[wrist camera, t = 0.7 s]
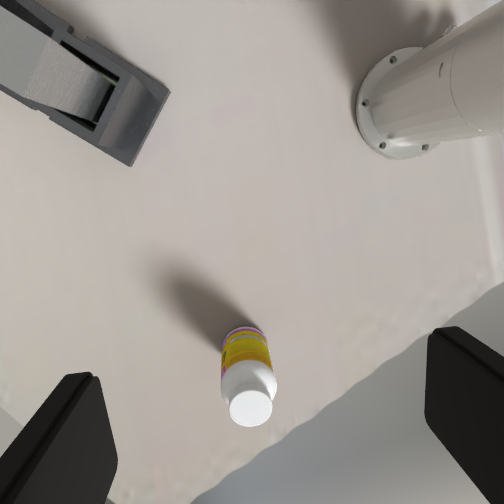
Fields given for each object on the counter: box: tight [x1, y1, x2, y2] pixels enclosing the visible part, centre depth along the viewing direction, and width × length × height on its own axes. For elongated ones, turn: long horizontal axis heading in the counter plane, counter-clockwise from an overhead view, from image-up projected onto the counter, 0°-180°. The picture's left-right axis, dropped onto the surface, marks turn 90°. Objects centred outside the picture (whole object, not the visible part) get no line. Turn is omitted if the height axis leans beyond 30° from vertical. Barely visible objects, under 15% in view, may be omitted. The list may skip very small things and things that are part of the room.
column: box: [0, 6, 117, 124], centre depth 29 cm, size 5×5×18 cm
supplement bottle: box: [221, 327, 277, 427], centre depth 41 cm, size 7×7×13 cm
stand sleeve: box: [23, 26, 171, 167], centre depth 34 cm, size 10×10×9 cm
